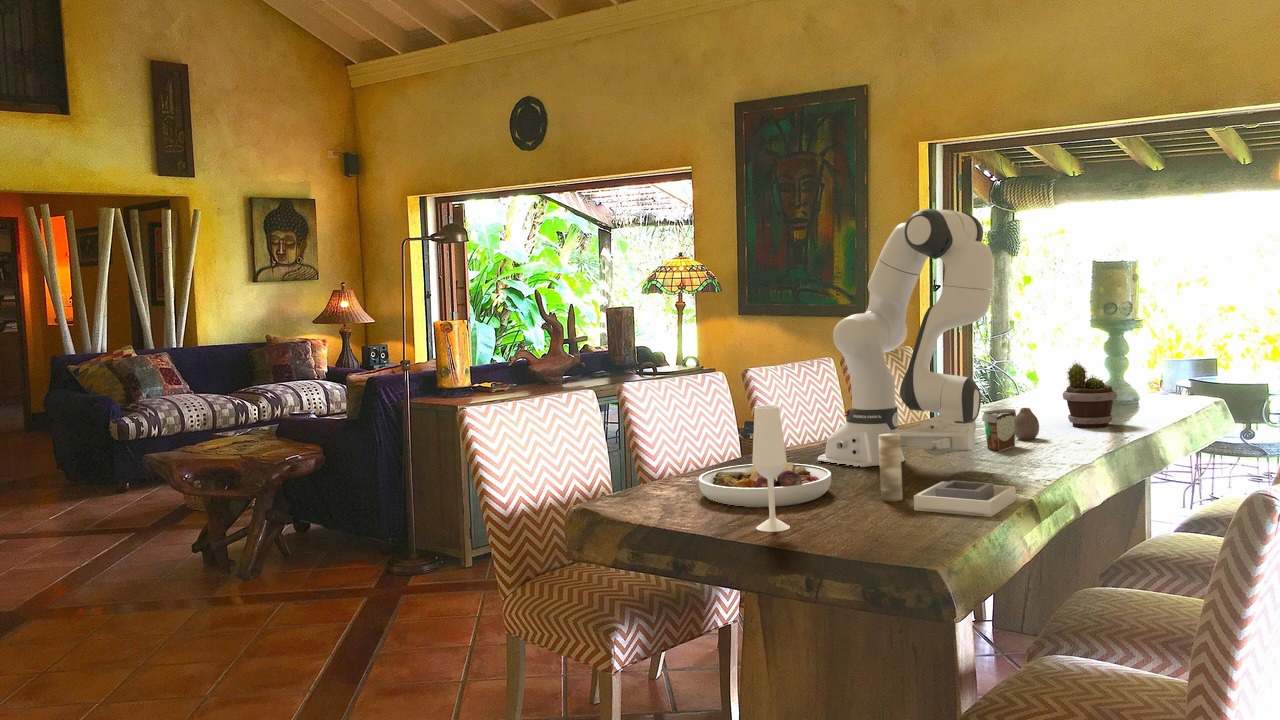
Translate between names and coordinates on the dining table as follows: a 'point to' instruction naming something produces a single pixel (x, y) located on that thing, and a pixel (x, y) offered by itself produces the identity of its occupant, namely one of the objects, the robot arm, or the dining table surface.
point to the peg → (890, 467)
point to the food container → (1000, 429)
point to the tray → (965, 498)
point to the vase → (1026, 425)
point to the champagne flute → (769, 457)
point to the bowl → (765, 485)
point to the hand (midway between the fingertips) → (915, 445)
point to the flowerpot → (1088, 399)
